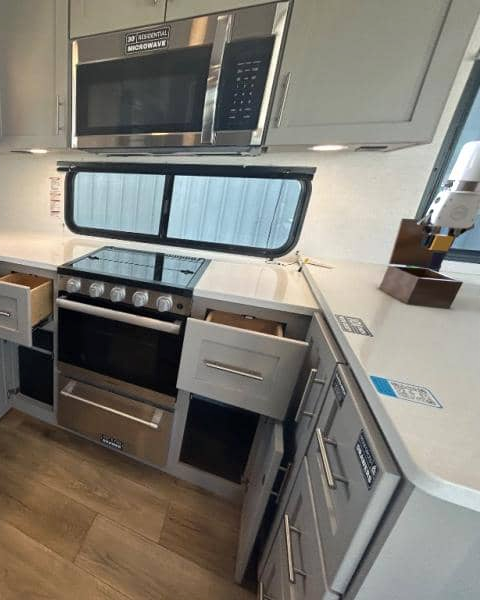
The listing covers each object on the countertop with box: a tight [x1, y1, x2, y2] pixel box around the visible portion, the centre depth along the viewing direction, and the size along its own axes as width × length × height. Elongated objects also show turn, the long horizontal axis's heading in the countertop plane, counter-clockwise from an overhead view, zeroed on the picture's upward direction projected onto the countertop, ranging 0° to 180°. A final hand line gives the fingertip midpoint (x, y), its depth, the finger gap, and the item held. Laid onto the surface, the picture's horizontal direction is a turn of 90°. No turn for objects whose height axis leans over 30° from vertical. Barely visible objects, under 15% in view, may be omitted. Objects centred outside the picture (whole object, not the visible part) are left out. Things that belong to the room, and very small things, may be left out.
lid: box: [388, 218, 443, 267], centre depth 111 cm, size 15×12×1 cm
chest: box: [378, 264, 464, 309], centre depth 108 cm, size 15×12×9 cm
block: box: [429, 233, 454, 252], centre depth 103 cm, size 4×4×4 cm
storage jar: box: [405, 248, 451, 273], centre depth 132 cm, size 10×10×15 cm
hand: (434, 247), depth 104 cm, fingers closed on block, 4 cm apart
